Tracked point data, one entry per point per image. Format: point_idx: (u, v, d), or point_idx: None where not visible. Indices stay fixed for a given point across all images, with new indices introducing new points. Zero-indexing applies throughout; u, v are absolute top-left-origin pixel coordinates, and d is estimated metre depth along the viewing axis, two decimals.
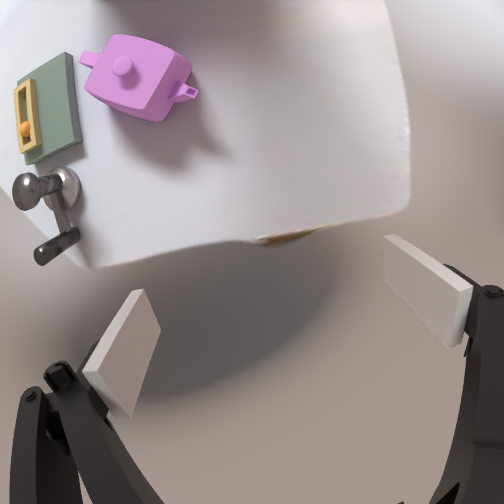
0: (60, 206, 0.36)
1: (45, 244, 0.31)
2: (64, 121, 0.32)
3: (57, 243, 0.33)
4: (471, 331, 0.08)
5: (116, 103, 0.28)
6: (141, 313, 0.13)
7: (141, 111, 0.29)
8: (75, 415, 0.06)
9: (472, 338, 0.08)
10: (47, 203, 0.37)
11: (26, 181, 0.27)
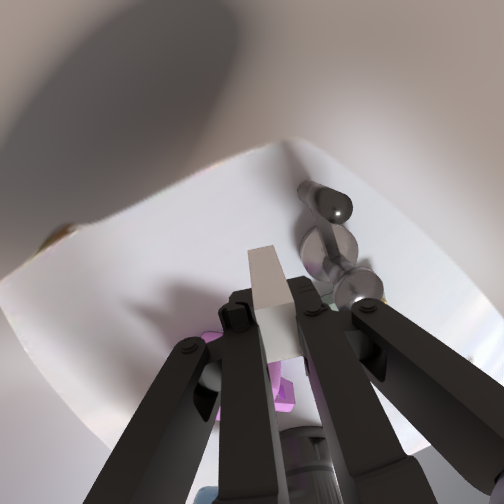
0: (322, 241, 0.31)
1: None
2: None
3: (315, 211, 0.26)
4: (303, 352, 0.10)
5: None
6: None
7: None
8: (241, 360, 0.08)
9: (307, 358, 0.10)
10: (350, 235, 0.32)
11: None
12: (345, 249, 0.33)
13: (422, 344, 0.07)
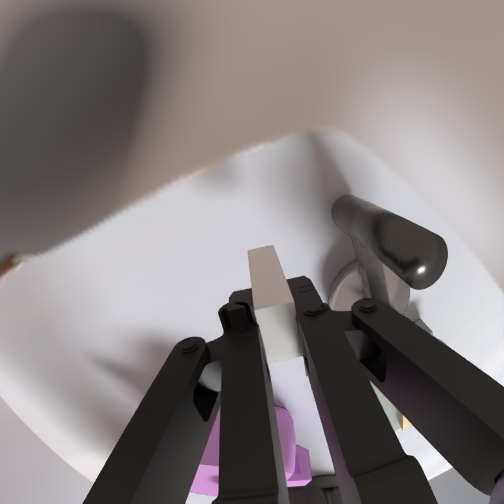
0: (368, 288, 0.20)
1: None
2: None
3: (374, 256, 0.14)
4: (303, 352, 0.10)
5: None
6: None
7: None
8: (241, 360, 0.08)
9: (307, 358, 0.10)
10: None
11: None
12: (393, 295, 0.21)
13: (422, 344, 0.07)
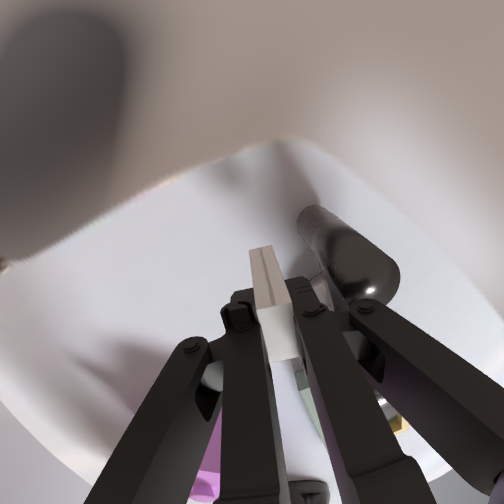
0: (331, 302, 0.20)
1: None
2: None
3: None
4: (301, 353, 0.10)
5: (201, 468, 0.20)
6: None
7: None
8: (243, 360, 0.08)
9: (305, 358, 0.10)
10: None
11: None
12: None
13: (420, 344, 0.07)
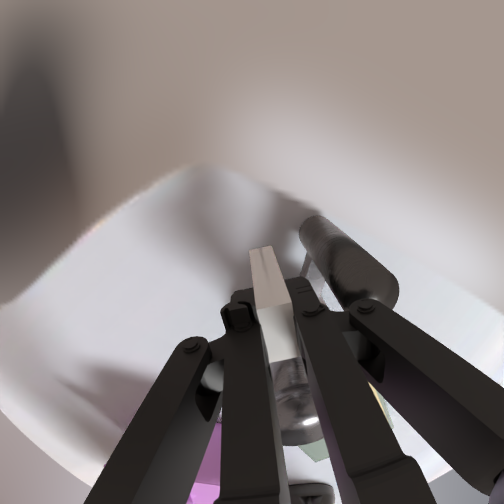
0: None
1: None
2: None
3: (323, 272, 0.14)
4: (301, 353, 0.10)
5: None
6: None
7: None
8: (243, 360, 0.08)
9: (305, 359, 0.10)
10: None
11: None
12: None
13: (420, 345, 0.07)
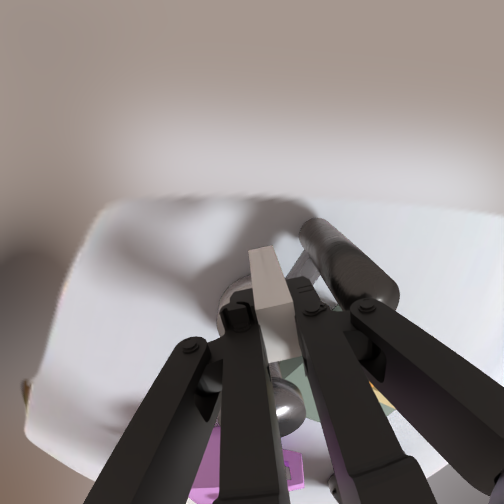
0: None
1: None
2: None
3: (325, 270, 0.14)
4: (302, 353, 0.10)
5: (211, 486, 0.22)
6: None
7: None
8: (242, 360, 0.08)
9: (306, 358, 0.10)
10: None
11: None
12: None
13: (421, 344, 0.07)
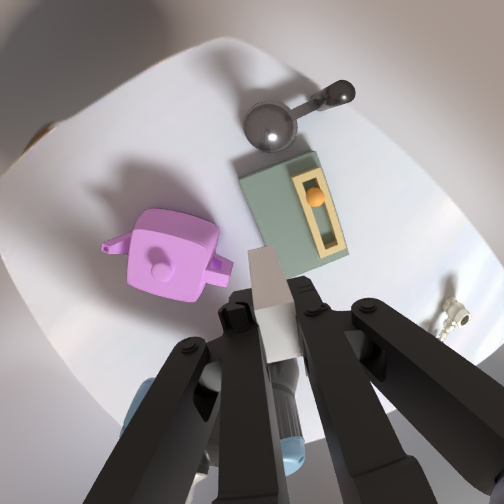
0: None
1: (328, 92, 0.26)
2: (258, 202, 0.38)
3: (325, 88, 0.28)
4: (303, 352, 0.10)
5: (163, 232, 0.33)
6: None
7: (138, 226, 0.33)
8: (241, 360, 0.08)
9: (307, 358, 0.10)
10: (290, 140, 0.35)
11: (253, 124, 0.27)
12: None
13: (422, 344, 0.07)
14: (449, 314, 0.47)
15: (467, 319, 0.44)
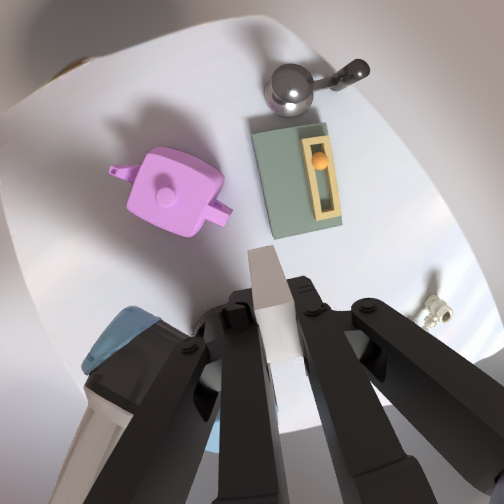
0: None
1: (347, 68, 0.29)
2: (266, 157, 0.39)
3: None
4: (303, 353, 0.10)
5: (175, 160, 0.33)
6: None
7: (152, 151, 0.33)
8: (241, 360, 0.08)
9: (307, 358, 0.10)
10: (305, 108, 0.37)
11: (280, 77, 0.28)
12: (294, 104, 0.37)
13: (421, 344, 0.07)
14: (431, 309, 0.50)
15: (449, 316, 0.47)
